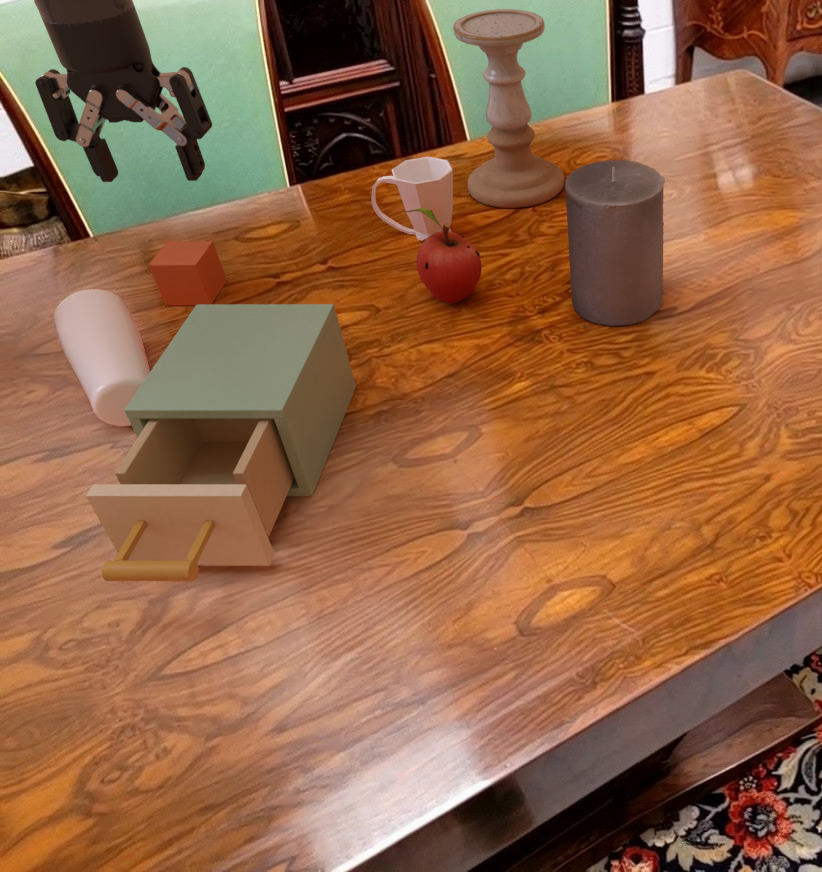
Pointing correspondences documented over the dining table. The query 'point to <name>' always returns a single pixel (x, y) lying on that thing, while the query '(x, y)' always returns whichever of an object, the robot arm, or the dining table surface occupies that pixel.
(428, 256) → the apple
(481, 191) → the candle holder
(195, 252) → the block
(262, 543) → the drawer
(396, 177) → the cup
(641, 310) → the pillar candle
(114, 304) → the drinking glass
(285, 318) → the cabinet
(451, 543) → the dining table surface
